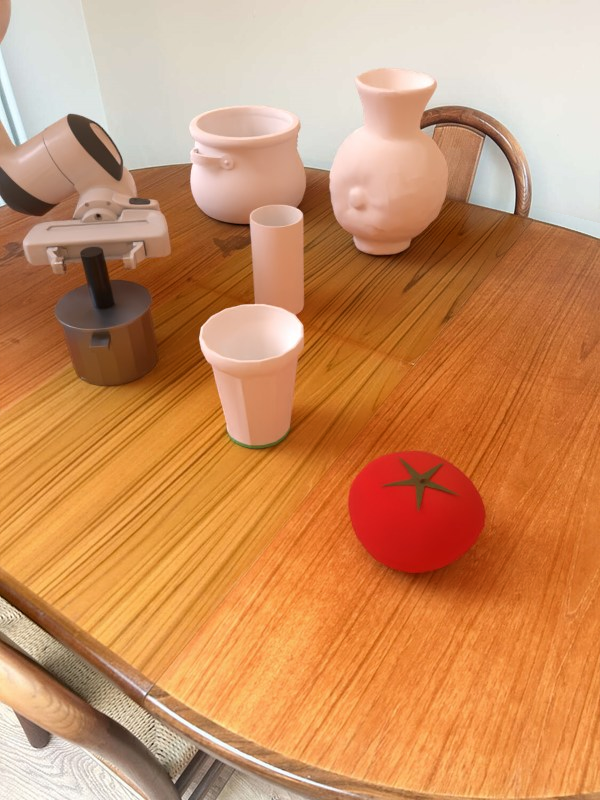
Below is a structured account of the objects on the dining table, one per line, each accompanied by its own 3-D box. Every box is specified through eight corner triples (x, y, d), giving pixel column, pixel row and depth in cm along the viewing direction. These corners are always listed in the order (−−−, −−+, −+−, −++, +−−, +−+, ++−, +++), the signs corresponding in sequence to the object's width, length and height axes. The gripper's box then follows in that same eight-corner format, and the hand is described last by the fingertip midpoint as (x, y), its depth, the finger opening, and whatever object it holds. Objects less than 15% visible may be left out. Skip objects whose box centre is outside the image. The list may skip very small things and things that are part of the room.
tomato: (324, 553, 71) (325, 488, 64) (377, 479, 80) (383, 414, 73) (448, 614, 65) (463, 549, 59) (491, 527, 74) (509, 461, 67)
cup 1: (274, 288, 115) (271, 200, 105) (313, 302, 111) (313, 212, 101) (245, 308, 110) (238, 218, 100) (284, 324, 106) (281, 232, 96)
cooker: (66, 401, 92) (49, 346, 85) (82, 331, 105) (68, 278, 99) (156, 393, 93) (145, 338, 87) (160, 324, 106) (151, 272, 100)
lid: (49, 340, 88) (30, 280, 82) (63, 289, 98) (48, 232, 92) (150, 331, 89) (139, 272, 83) (154, 282, 99) (144, 226, 93)
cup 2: (294, 391, 93) (292, 297, 83) (314, 451, 83) (315, 354, 74) (206, 404, 91) (194, 309, 81) (217, 467, 81) (204, 369, 72)
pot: (260, 173, 156) (256, 95, 145) (332, 204, 142) (334, 120, 131) (168, 205, 143) (155, 121, 131) (237, 242, 129) (230, 152, 117)
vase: (412, 279, 117) (433, 101, 97) (309, 251, 125) (309, 82, 106) (452, 239, 129) (476, 73, 109) (355, 215, 137) (363, 58, 118)
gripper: (27, 207, 96) (7, 250, 86) (168, 199, 98) (165, 240, 87) (38, 247, 100) (20, 293, 90) (173, 238, 102) (171, 282, 91)
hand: (93, 267), depth 89 cm, fingers open, 8 cm apart
